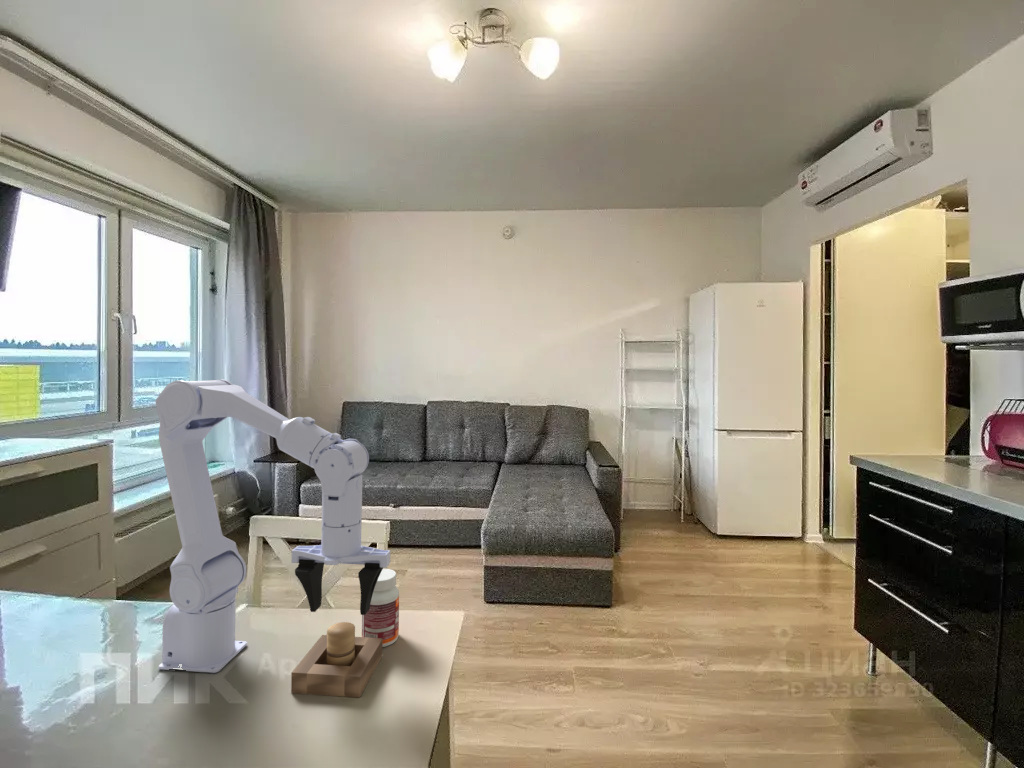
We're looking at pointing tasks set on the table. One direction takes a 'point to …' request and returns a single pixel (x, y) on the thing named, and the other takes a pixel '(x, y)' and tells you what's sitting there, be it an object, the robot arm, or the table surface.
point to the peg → (341, 644)
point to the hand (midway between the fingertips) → (340, 610)
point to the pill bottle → (383, 610)
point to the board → (336, 670)
